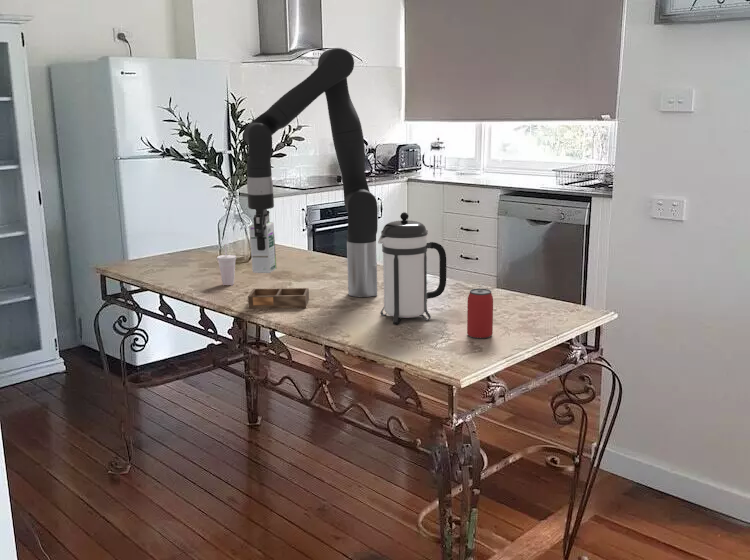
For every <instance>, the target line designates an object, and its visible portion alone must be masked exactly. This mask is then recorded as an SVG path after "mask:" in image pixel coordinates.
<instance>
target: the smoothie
mask: <svg viewBox="0 0 750 560" xmlns="http://www.w3.org/2000/svg"><path fill="white" fill-rule="evenodd" d="M227 249H228V248H227V243H224V254H221V255H218V256H217V257H216V260H217V261H218V267H219V272H220V276H221V277H220V278H221V283H222V285H223V286H224V285H231V286H233V284H235V273H236V271H235V269H236V260H237V255H235V254H227V253H228V250H227Z"/></svg>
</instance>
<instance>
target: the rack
mask: <svg viewBox="0 0 750 560" xmlns="http://www.w3.org/2000/svg"><path fill="white" fill-rule="evenodd" d="M309 291H310V290H309V287H301V288H300V287H291V288H290V287H285V288H284V287H282V288H281V287H280V288H276V287H274V288H269V287H268V288H253V289H252V290H251V292H250V293H249V295H248V296H247V302H248V304H247V305H248V310H249V309H250V310H251V309H252V310H253V309H254V310H255V309H258V310H260V309H261V310H263V309H264V310H265V309H266V310H267V309H268V310H270V309H306V308H307V307H306V306H308V304H309V302H310V292H309Z"/></svg>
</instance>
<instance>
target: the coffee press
mask: <svg viewBox="0 0 750 560" xmlns="http://www.w3.org/2000/svg"><path fill="white" fill-rule="evenodd" d="M399 218H400V220H394V221H389V222H388V223H386V224H385V225H384V226H383V229H382V230H381V231H380V233H381V235H380V236H379V239H378V241H377V244H379V245H380V244H382V245H381V247H382V249H381V251H382V261H383V263H382V264H383V265H382V269H383V270H382V271H383V272H382V275H383V277H382V278H383V308H382V309H381V310H380V312H379V314H380V315H381V316H382V317H384V316H386V315H388V316H390V317H393V319H392V324H393V325H400V321H401V319H402V318H403V319H404V318H405V319H407V318H409V319H410V318H417V317H422V319H423V320H425V321H426V322H428V321H429V320H430V319H431V314H430V313H429V311H428V307H427V306H428V304H427V303H428V300H429V299H433V298H438V297H439V296H441V295H442V294H443V292H444V291H445V289H446V285H447V254H446V250H445V248H444V246H443V245H442V244H440V243H438V242H434V241H429V242H427V236H428V235H429V234H428V233H429V231H428V230H427V228H426V226H425V225H424V224H423V223H422V222H420V221H418V220H417V221H416V220H408V219H409V214H408V213H407V212H406V211H405V212H404V211H403V212H401V214H400V216H399ZM428 249H431V250H432V249H434V250H436V251H437V252H438V256H439V257H438V258H439V272H438V273H439V282H438V286H437V288H436V289H435V290H434V291H427V288H428V287H427V285H428V284H427V283H428V281H427V279H428V278H427V275H428V273H427V270H428V269H427V267H428V265H427V261H428V260H427V259H428V258H427V251H428ZM384 312H385V313H384ZM424 314H426V315H424ZM426 316H427V317H428V318H427V317H426Z"/></svg>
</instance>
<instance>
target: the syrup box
mask: <svg viewBox="0 0 750 560" xmlns="http://www.w3.org/2000/svg"><path fill="white" fill-rule="evenodd" d="M263 227H264V225H263ZM248 229H249V240H250V243H249V244H250V251H251V252H250V254H251V255H250V256H251V270H252V273H255V274H271V273H272V272H273V271H275V270H276V269H277V257H276V239H275V226H274V222H272V221H271V222H269V223H267V225H266V230H265V250H258V249H257V238H256V237H255V231H254V223H253V224H251V225H249V226H248ZM258 233H261V230H259V231H258Z"/></svg>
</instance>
